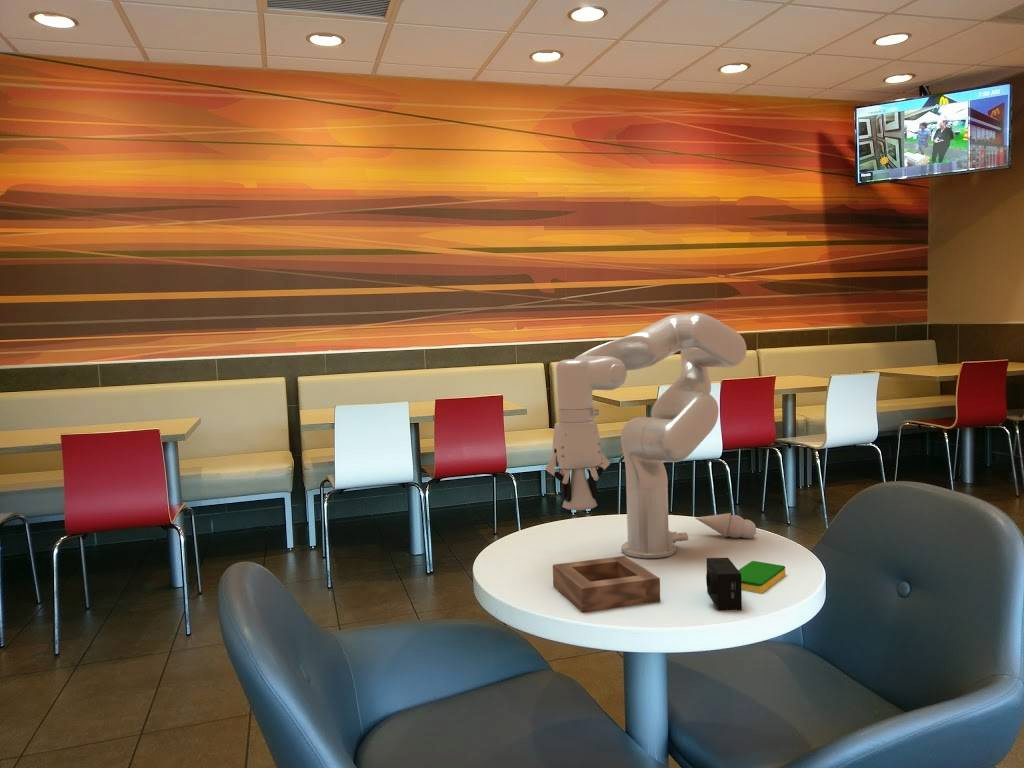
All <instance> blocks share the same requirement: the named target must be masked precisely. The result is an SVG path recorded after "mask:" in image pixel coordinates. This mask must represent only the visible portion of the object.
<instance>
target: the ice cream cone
mask: <svg viewBox="0 0 1024 768" xmlns="http://www.w3.org/2000/svg"><path fill="white" fill-rule="evenodd" d="M694 519H696V520H697V521H699V522H701V523H702V524H703V525H706V526H707V527H709V528H711V529H712V530H713V531H715V532H717V533H718V534H719V535H720V534H721V536H724V537H725V538H728V536H729V537H730V538H733V539H738V538H743V539H751V538H753V537H755V535H756V533H757V526H756V524H755V522H753V521H752V520H750V519H744V518H743V517H741V516H740V515H736V514H732V512H727V513H721V514H713V515H707V516H705V515H704V516H699V517H698V516H697V517H694Z"/></svg>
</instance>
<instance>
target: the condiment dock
mask: <svg viewBox="0 0 1024 768" xmlns="http://www.w3.org/2000/svg"><path fill="white" fill-rule="evenodd" d="M552 585H553V587H554V588H555V589H556V590H557V591H558V592H559V593H561V595H562V596H563V597H565V599H567V600H568V601H569V602H570V603H571V604H572V605H573V606H575V608H577V610H579V611H580V612H581V613H588V612H589V613H590V612H593V611H595V612H596V611H601V610H608V609H614V608H615V609H616V608H624V607H629V606H636V605H637V606H638V605H643V604H651V603H656V602H657V603H658V602H661V580H660V577H658V576H657V575H655V574H654V573H653V572H651V571H649V570H648V569H646V568H644V567H643V566H641V565H639V564H638V563H636V562H635V561H634V560H632V559H630V558H628V557H627V556H625V555H620V556H613V557H603V558H597V559H596V558H594V559H590V560H580V561H573V562H566V563H556V564H555V563H554V564H552Z"/></svg>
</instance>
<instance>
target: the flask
mask: <svg viewBox="0 0 1024 768" xmlns="http://www.w3.org/2000/svg"><path fill="white" fill-rule="evenodd" d="M585 469H586V468H584V469H574V470H571V473H570V482H569V484H571V502H567V501H565V500H564V499H563V500H564V501H563V503H562V506H561V507H562V508H564V509H566V510H569V511H570V510H572V511H586V510H593V509H594V508H597V506H598V504H597V502H596V498H595V499H593V497H592V493H591V489H590V487H589V484H588V482H587V479H588V478H587V474H586V470H585Z"/></svg>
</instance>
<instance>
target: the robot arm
mask: <svg viewBox="0 0 1024 768" xmlns="http://www.w3.org/2000/svg"><path fill="white" fill-rule="evenodd" d="M679 351H680V358H681V359H680V361H681V363H680V364H681V369H680V370H681V371H680V373H679V376H678V377H677V379H675V381H674V382H673V383H672V384H671V385H670V386H669V387H668V388H667V389H666V390H665V391H664V392H663V393H662V394H661V395H660V396H659V397H658V399H657V400H656V401H654V403H653V406H652V409H651V417H649V416H638V417H634V418H632V419H629V420H628V421H627V422H626V423H625V424H623V427H622V429H621V432H620V443H621V444H620V445H621V449H622V453H623V454H622V455H623V459H624V465H625V477H626V478H625V481H626V484H625V487H626V521H627V523H626V525H627V526H626V527H627V542H624V543H623V544H621V546H620V547H621V549H620V551H621V553H623V554H624V555H626V556H629V557H632V558H641V559H659V558H661V559H662V558H666V557H667V558H668V557H670V556H672V555H674V554H675V553H676V552H677V548H676V545H675V544H676V543H677V542H684V541H685V542H686V541H688V539H689V535H688V533H687V532H685V531H684V532H679V533H678V532H677V531H670V530H669V528H670V527H669V494H668V493H669V492H668V491H669V490H668V489H669V487H668V486H669V485H668V484H669V481H668V473H667V471H666V470H667V469H666V466H665V465H664V462H667V463H679V462H681V461H684V460H685V459H687V458H688V457H690V456H691V455H692V453H693V452H694V451H695V450H696V449H697V448H698V446H700V445H701V443H702V442H703V441H704V440H705V439H706V438H707V436H709V435H710V433H711V432H712V431H713V430H714V428H715V426H716V424H717V422H718V418H719V405H718V402H717V400H716V399H715V397H714V396H713V395H712V394H711V391H712V384H711V381H710V377H709V371H708V368H734V367H737V366H739V365H741V363H743V361H744V360H745V358H746V356H747V345H746V341H745V339H744V337H743V336H742V334H740V333H739V332H737V331H736V330H735V329H734V328H731V327H729V326H728V325H726V324H725V323H723V322H721V321H720V320H719V319H716V318H714V317H712V316H710V315H709V314H705V313H702V312H701V313H700V312H695V313H692V312H691V313H676V314H670V315H668V316H666V317H664V318H662V319H660V320H658V321H656V322H654V323H653V324H651V325H648V326H647V327H645V328H642V329H641V330H639V331H637V332H634V333H632V334H629V335H626V336H623V337H620V338H617V339H614V340H611V341H609V342H606V343H603V344H600V345H597V346H594V347H593V348H590V349H588V350H586V351H584V352H582V353H581V354H579V355H577V356H576V357H574V358H572V359H562V360H560V361H557V364H556V371H555V372H556V392H557V413H558V422H556V423H554V426H553V435H552V437H553V438H552V452H551V453H552V457H551V459H550V460H549V462H548V463H547V465H546V466H545V471H547V472H548V473H549V474H550V475H551V476H553V477H554V478H556V479H557V480H558V481H559V483H560V488H561V489H560V491H561V493H560V494H561V498H562V499H563V500H565V501H567V502H571V484H570V482H569V478H570V476H571V472H572V470H574V469H584V468H585V469H586V470H585V471H586V472H587V476H588V478H586V479H587V482H588V484H589V487H590V489H591V493H592V497H593V499H595V500H596V499H597V496H596V495H597V494H598V486H597V485H598V484H597V482H598V480H599V478H600V476H601V475H602V473H604V471H605V470H606V469H607V468H608V467H609V466H610V465H611V462H610V460H609V459H608V458H607V457H606V455H605V454H604V453H603V452H602V445H601V439H600V432H599V431H600V430H599V428H598V423H597V421H595V417H596V416H599V414H600V410H599V409H595V407H593V406H594V403H593V402H594V401H593V391H607V392H608V391H614V390H617V389H619V388H620V387H621V386H622V385H624V383H625V381H626V379H627V375H628V373H627V372H628V371H635V370H642V369H646V368H649V367H653V366H654V365H657V363H660V362H661V361H663V360H665V359H667V358H668V357H671V356H672V355H674V354H676V353H677V352H679ZM555 467H556V468H559V469H560V472H559V471H558V470H556V469H555Z"/></svg>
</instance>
